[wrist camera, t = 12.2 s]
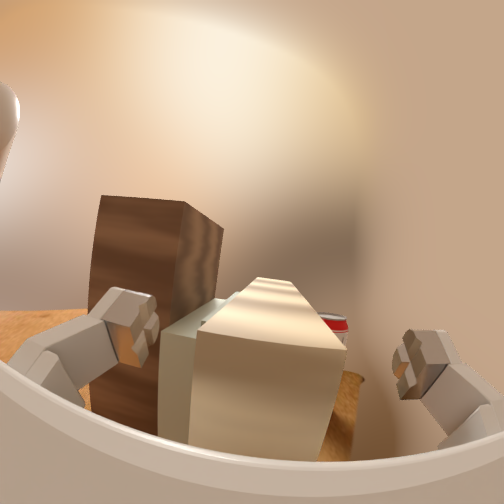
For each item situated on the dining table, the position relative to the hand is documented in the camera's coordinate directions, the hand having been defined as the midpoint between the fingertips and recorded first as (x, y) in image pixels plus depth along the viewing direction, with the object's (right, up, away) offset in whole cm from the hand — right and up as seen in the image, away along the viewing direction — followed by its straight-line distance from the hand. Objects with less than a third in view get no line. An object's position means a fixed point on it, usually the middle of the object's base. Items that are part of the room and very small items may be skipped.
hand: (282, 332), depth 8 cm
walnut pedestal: (-12, -20, +18) cm, 29 cm away
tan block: (0, -4, +10) cm, 10 cm away
